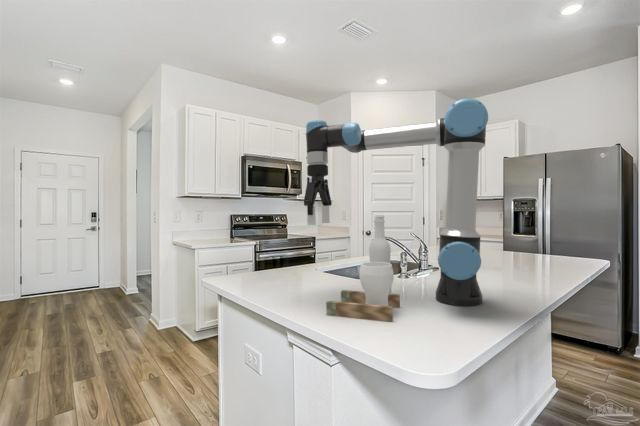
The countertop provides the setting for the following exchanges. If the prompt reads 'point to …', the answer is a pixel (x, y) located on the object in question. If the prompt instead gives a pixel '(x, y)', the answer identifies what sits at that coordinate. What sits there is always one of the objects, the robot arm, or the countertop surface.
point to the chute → (362, 306)
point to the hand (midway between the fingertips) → (319, 223)
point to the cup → (376, 281)
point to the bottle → (379, 243)
